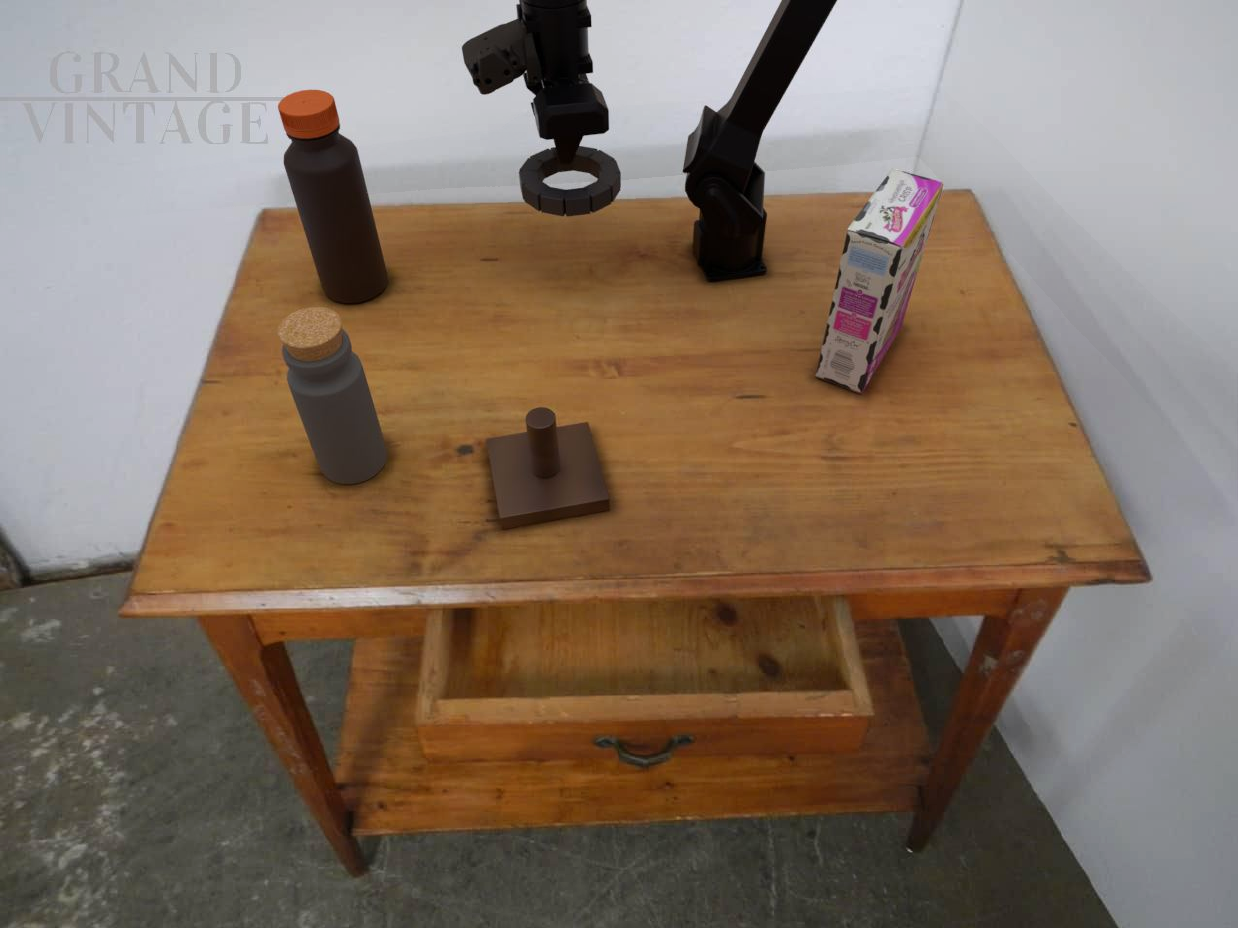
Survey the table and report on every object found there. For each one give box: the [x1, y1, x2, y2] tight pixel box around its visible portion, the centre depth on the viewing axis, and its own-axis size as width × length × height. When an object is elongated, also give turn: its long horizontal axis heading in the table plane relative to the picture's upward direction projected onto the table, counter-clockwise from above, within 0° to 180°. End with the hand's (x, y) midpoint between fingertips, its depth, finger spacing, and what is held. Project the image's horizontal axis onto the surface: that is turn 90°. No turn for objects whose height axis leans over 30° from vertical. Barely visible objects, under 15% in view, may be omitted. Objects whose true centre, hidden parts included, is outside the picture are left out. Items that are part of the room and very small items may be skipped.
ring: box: [518, 145, 622, 218], centre depth 91 cm, size 10×10×2 cm
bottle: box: [277, 306, 388, 485], centre depth 76 cm, size 6×6×15 cm
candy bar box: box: [815, 168, 945, 394], centre depth 84 cm, size 11×5×16 cm, turn 150°
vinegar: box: [277, 89, 389, 304], centre depth 90 cm, size 7×7×20 cm
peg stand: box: [485, 406, 611, 530], centre depth 77 cm, size 9×9×8 cm
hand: (564, 158), depth 93 cm, fingers closed on ring, 2 cm apart
